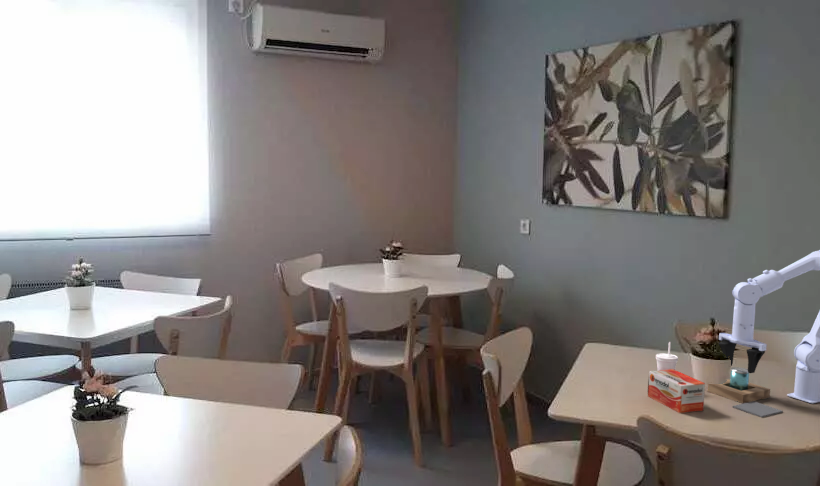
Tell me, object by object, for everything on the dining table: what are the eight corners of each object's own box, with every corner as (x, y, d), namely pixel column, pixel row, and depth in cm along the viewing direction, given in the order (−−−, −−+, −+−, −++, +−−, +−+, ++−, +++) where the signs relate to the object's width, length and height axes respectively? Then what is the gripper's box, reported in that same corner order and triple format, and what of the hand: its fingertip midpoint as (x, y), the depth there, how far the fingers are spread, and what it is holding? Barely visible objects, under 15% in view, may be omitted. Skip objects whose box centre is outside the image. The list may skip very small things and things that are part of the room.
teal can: (736, 390, 226) (738, 366, 225) (751, 395, 221) (753, 370, 220) (725, 393, 223) (727, 368, 222) (740, 398, 219) (741, 373, 218)
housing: (734, 385, 230) (734, 378, 230) (769, 397, 220) (770, 389, 220) (707, 391, 225) (708, 383, 224) (742, 403, 214) (743, 394, 214)
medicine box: (646, 396, 219) (648, 370, 218) (670, 394, 221) (672, 368, 221) (679, 414, 205) (681, 385, 204) (705, 411, 207) (706, 383, 206)
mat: (753, 402, 215) (753, 401, 215) (782, 412, 207) (782, 410, 207) (732, 407, 211) (732, 405, 211) (761, 417, 203) (761, 415, 203)
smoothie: (677, 391, 224) (680, 345, 222) (655, 389, 225) (657, 343, 224) (674, 384, 230) (677, 340, 229) (652, 383, 232) (655, 338, 230)
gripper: (713, 319, 224) (710, 364, 226) (756, 330, 212) (752, 377, 213) (729, 317, 228) (725, 361, 229) (772, 328, 215) (768, 374, 217)
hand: (739, 369), depth 221 cm, fingers open, 7 cm apart
